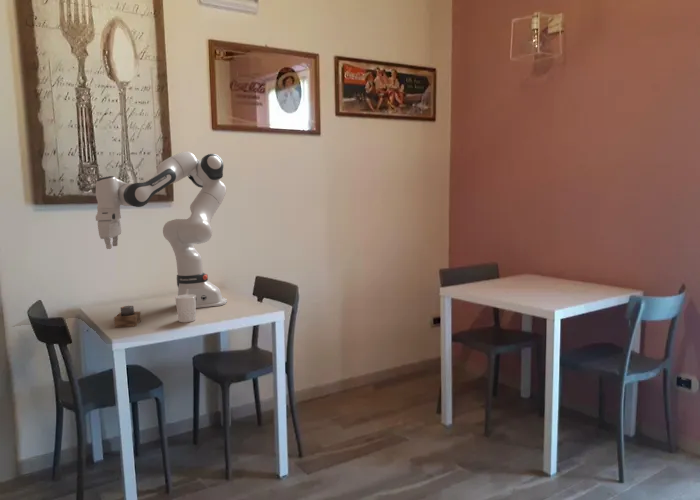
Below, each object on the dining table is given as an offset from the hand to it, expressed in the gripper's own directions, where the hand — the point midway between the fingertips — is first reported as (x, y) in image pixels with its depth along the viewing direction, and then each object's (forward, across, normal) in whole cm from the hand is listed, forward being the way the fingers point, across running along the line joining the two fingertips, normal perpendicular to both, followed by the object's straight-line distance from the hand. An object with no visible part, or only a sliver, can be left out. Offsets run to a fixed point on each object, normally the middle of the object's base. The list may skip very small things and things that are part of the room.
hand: (112, 247), depth 241 cm
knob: (+28, +20, +9) cm, 36 cm away
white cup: (+29, +20, +32) cm, 48 cm away
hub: (+29, +20, +9) cm, 36 cm away
